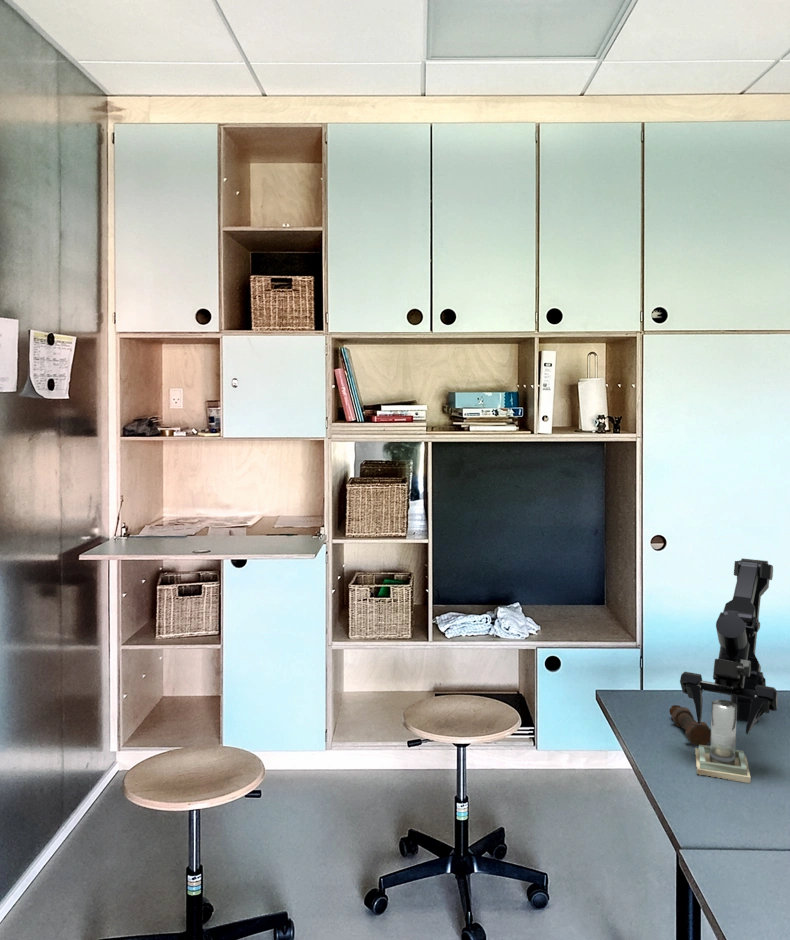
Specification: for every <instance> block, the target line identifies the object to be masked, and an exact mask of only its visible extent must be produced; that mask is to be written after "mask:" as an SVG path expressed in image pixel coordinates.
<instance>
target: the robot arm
mask: <svg viewBox="0 0 790 940" xmlns="http://www.w3.org/2000/svg"><path fill="white" fill-rule="evenodd" d="M733 565H734V567H733V576H734V577H736V583H735V589H734V593H733V596H732V599H731V600H729V601H727V602H726V603H725V605H724V608H723V611H722V612H720V613H719V615H718V617H717V620H716V622H715V629H716V632H717V633H716V635H717V639H718V643H719V646H720V647H719V653H718V658H715V659H714V663H713V674H712V679H713V680H714V681H713V682H712V681H706V680H703V678H702V677H703V676H702V674H701V673H695V672H689V671H683V673H681V674H680V680H679V684H680V687H681V691H682V693H684V694H685V695H687V697H688V698H690V699H692V700H693V702H694V706H695V714H696V718H697V720H696V721H697V722H698V724H700V723H701V722H702V719H703V718H702V717H703V701H704V700H703V698H704V697H703V691H707V692H712V693H717V694H723V695H728V696H730V699H729V701H730V702H733V703H735V704H736V705H737V720H738V721H746V725H745V735H749V733H750V732H751V730H752V729H753V728H754V727H755V725H756V723H759V719H761V717H762V716H763V715H764V714H769V713H770V711H771V712H776V711H778V704H779V703H778V701H779V699H778V697H779V696H778V690H777V689H776V688H775V687H774V686H773V687H772V686H767V684H766V683H767V682H766V678H765V676H764V673H763V672H761V669H762V667H761V664H760V662H759V660H758V657H757V656H756V646H757V638H758V632H759V631H760V628H761V623H760V620H759V619H760V618H759V617H760V608H761V600H762V598H761V597H762V596H763V595H764V594H765V592H766V591H767V590H768V589H769V587H770V581H773V576H774V575H773V574H774V565H772V564H769V561H768V560H760V559H753V558H752V559H750V558H741V559H740V560H734V564H733Z"/></svg>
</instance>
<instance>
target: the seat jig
mask: <svg viewBox="0 0 790 940" xmlns="http://www.w3.org/2000/svg"><path fill="white" fill-rule="evenodd" d="M694 749H695V751H694V752H695V753H694V754H695V755H696V756H695V765H696V766H695V767H697V769H696V775H697V774H699V775H698V776H701V775H707V776H706V777H708V776H711V777H710V778H714V777H717V778H716V779H720V778H722V779H723V780H727V779H728V781H734V782H741V783H747V784H751V779H752V778H751V773H750V769H749V763H748V758H747V756H746V754H745V753H744V750H739V749H735V765H734V766H733V765H726V764H719V763H713V762H710V760H709V757H710V745H699V746H698V748H697V747H695V748H694Z"/></svg>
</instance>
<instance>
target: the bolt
mask: <svg viewBox="0 0 790 940" xmlns="http://www.w3.org/2000/svg"><path fill="white" fill-rule="evenodd" d="M668 712H669V714H670V716H671V719H672V720H673V723H674V725H676V726H678V728H683V730H684V731H685V732H684V734H685V736H686V738H687V739H688V741H689V743H690V745H692V746H693V745H706V746H709V744H710V739H711V728H709V725H708V724H707V723H706V722H705V721H701V723H700V724H698V721H697V720H695V717H694V716H693V714H692V712H691V711H690V709H689V708H688V707H686V706H683V707H682V706H681V705H678V704H677V705H676V704H673V705H671V706H670V708H669V710H668Z"/></svg>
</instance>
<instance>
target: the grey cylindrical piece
mask: <svg viewBox="0 0 790 940" xmlns="http://www.w3.org/2000/svg"><path fill="white" fill-rule="evenodd" d="M710 717H711V718H710V719H711V720H710V730H711V739H710V742H709V746H710V757H709V760H710V762H713V763H719V764H726V765H733V766H734V765H735V750H736V744H737V743H736V741H737V740H736V739H737V736H736V735H737V720H738V719H737V705H736V704H735V703H733V702H730V700H725V699H715V700H712V701H711V716H710Z"/></svg>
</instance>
